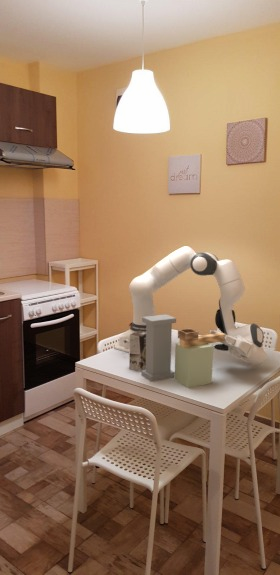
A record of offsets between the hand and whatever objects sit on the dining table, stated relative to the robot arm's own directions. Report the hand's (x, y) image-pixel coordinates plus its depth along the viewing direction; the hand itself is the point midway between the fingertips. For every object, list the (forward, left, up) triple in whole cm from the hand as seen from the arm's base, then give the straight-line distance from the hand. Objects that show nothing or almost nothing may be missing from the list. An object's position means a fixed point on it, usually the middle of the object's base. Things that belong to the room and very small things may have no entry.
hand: (217, 334), depth 191 cm
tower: (-22, -12, -19) cm, 32 cm away
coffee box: (-34, -6, -19) cm, 40 cm away
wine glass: (-10, +42, -19) cm, 48 cm away
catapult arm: (-4, -7, -3) cm, 8 cm away
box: (-6, -10, -19) cm, 23 cm away
